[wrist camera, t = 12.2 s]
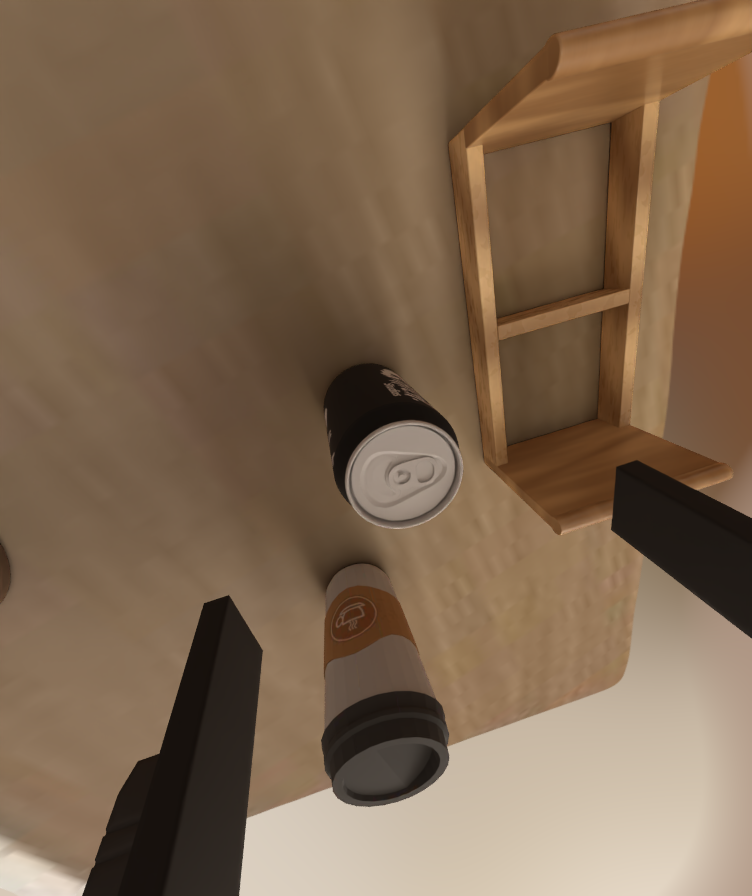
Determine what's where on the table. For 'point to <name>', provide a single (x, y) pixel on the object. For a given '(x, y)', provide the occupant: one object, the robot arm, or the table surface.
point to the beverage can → (390, 448)
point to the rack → (629, 194)
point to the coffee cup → (376, 696)
